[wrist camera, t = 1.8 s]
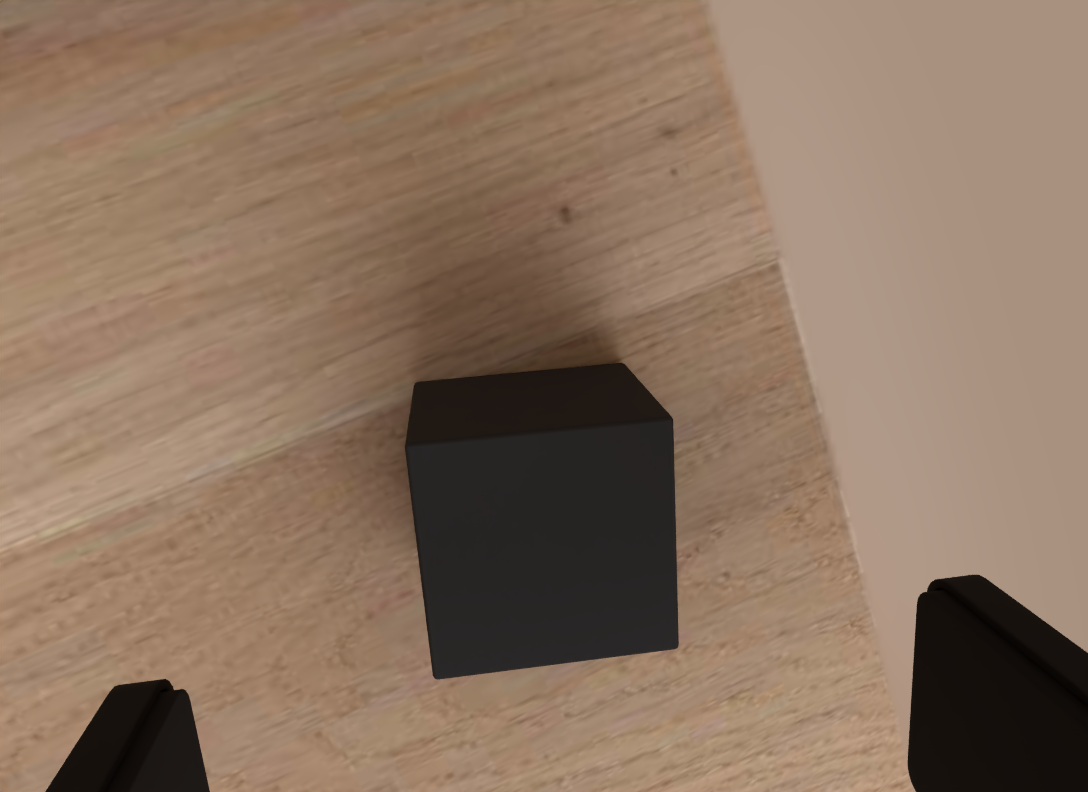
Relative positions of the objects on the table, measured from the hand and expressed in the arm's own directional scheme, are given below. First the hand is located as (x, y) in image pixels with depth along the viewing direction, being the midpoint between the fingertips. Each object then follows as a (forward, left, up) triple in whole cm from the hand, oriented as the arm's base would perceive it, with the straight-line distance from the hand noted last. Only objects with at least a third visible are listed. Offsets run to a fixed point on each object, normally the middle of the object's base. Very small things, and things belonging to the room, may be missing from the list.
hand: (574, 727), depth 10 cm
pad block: (0, 0, -8) cm, 8 cm away
